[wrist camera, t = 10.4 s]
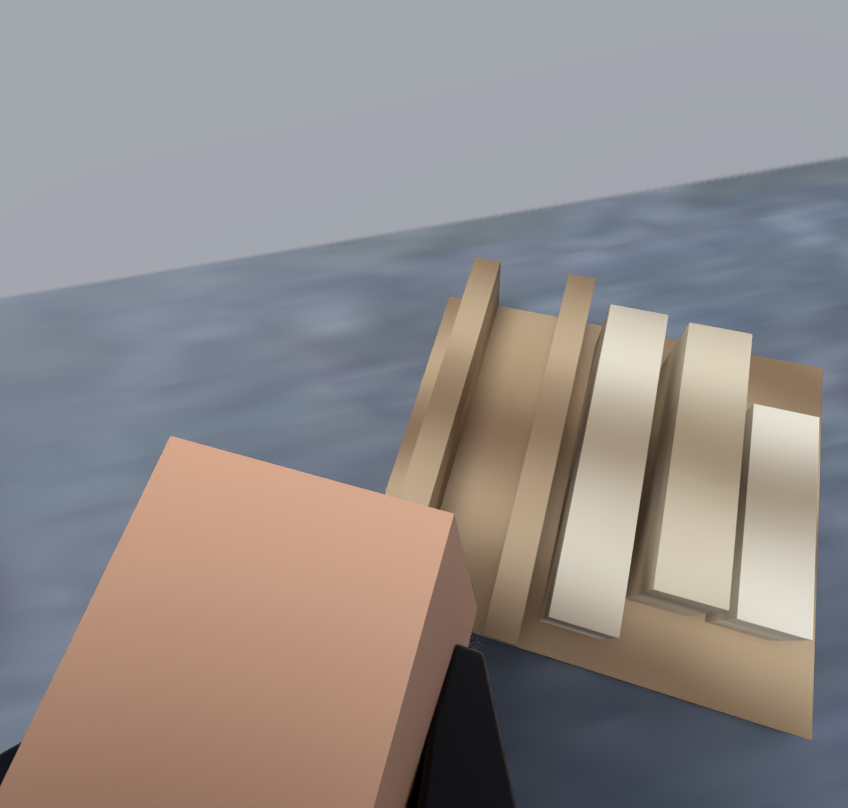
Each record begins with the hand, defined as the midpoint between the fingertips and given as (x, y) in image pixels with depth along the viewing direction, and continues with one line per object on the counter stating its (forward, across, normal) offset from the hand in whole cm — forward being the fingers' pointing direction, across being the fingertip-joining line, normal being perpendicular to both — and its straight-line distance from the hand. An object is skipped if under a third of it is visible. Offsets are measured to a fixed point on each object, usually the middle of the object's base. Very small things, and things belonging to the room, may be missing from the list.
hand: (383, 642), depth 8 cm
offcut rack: (+15, -4, +4) cm, 16 cm away
